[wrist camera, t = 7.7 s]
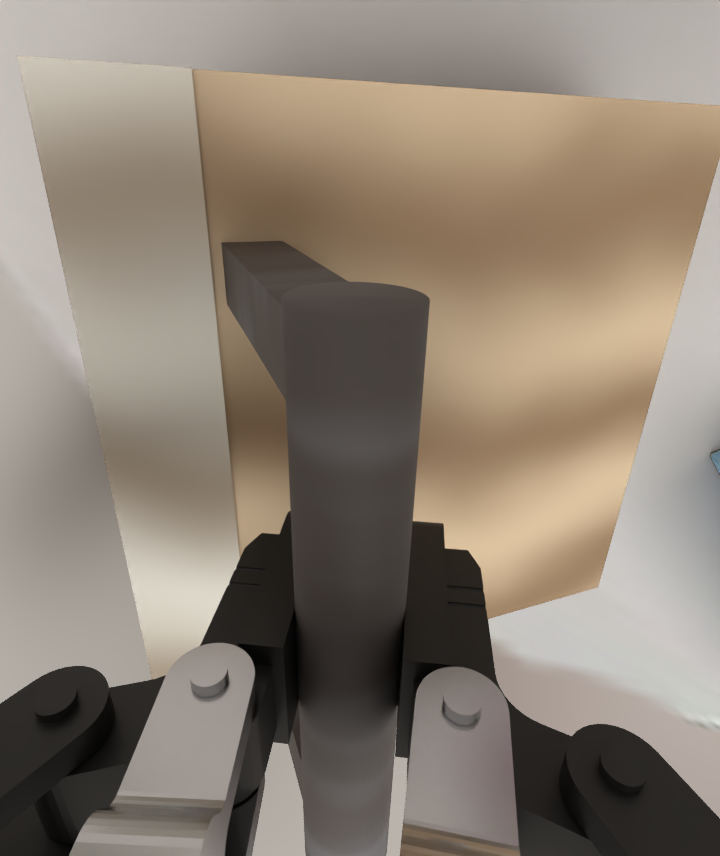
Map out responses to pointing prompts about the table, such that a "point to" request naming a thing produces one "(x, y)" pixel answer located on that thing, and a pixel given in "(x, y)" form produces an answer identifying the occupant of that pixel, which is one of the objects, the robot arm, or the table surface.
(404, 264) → the lid
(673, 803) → the robot arm
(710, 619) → the table surface
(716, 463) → the gum box
